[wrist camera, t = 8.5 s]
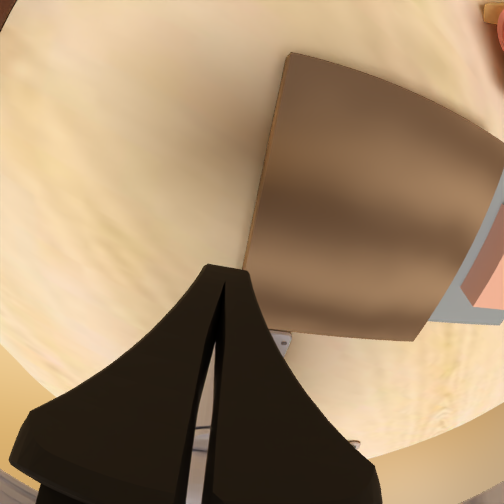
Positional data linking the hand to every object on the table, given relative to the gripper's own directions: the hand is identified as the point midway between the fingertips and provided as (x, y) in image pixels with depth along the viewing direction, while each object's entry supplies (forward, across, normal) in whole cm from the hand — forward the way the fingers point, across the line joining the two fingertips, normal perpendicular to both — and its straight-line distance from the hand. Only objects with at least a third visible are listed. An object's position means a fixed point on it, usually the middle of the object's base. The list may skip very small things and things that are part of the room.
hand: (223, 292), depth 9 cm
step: (+9, -8, 0) cm, 12 cm away
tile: (+6, -22, 0) cm, 23 cm away
